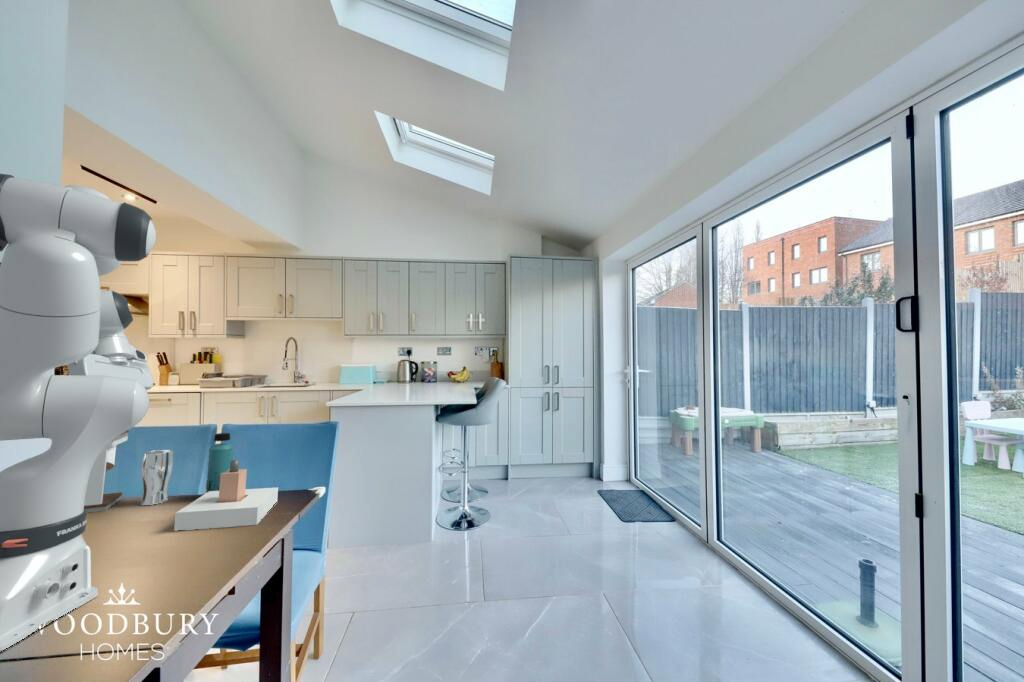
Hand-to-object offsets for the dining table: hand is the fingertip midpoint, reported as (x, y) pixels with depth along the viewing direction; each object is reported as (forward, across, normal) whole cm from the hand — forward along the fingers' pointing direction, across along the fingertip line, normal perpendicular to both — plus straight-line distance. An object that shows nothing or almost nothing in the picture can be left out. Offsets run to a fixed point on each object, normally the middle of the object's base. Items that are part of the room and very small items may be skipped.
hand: (121, 404), depth 97 cm
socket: (+36, +14, -8) cm, 39 cm away
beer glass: (+23, +27, +17) cm, 40 cm away
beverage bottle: (+29, +30, +3) cm, 42 cm away
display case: (+18, +24, +31) cm, 43 cm away
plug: (+36, +14, -8) cm, 39 cm away
